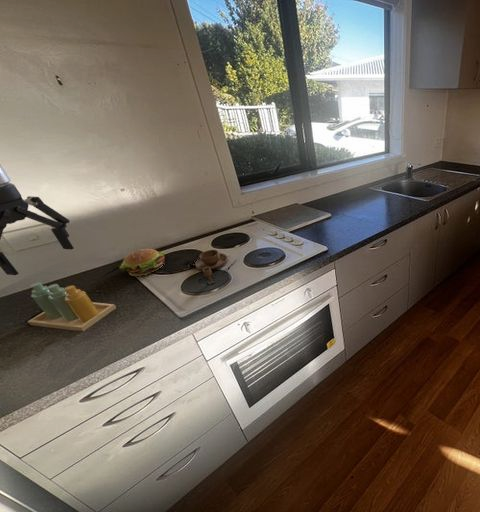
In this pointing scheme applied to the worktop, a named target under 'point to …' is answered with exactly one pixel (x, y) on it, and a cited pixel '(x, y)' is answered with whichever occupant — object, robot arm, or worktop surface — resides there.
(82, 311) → the mustard bottle
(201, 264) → the place setting
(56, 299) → the sage bottle
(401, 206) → the worktop surface
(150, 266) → the food
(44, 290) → the sage bottle
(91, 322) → the tray
